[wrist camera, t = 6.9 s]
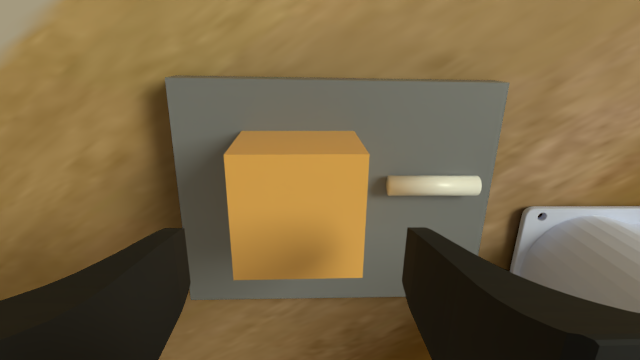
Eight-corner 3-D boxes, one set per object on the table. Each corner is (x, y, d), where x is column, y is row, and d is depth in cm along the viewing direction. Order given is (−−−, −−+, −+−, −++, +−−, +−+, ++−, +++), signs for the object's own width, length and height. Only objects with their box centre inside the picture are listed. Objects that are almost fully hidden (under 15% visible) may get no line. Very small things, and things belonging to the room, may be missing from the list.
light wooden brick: (354, 130, 18) (369, 154, 14) (349, 230, 20) (362, 277, 16) (241, 130, 18) (223, 154, 13) (247, 232, 19) (233, 280, 15)
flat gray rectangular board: (493, 80, 19) (549, 88, 15) (460, 280, 23) (496, 333, 18) (175, 75, 18) (136, 82, 14) (197, 283, 22) (173, 339, 18)
